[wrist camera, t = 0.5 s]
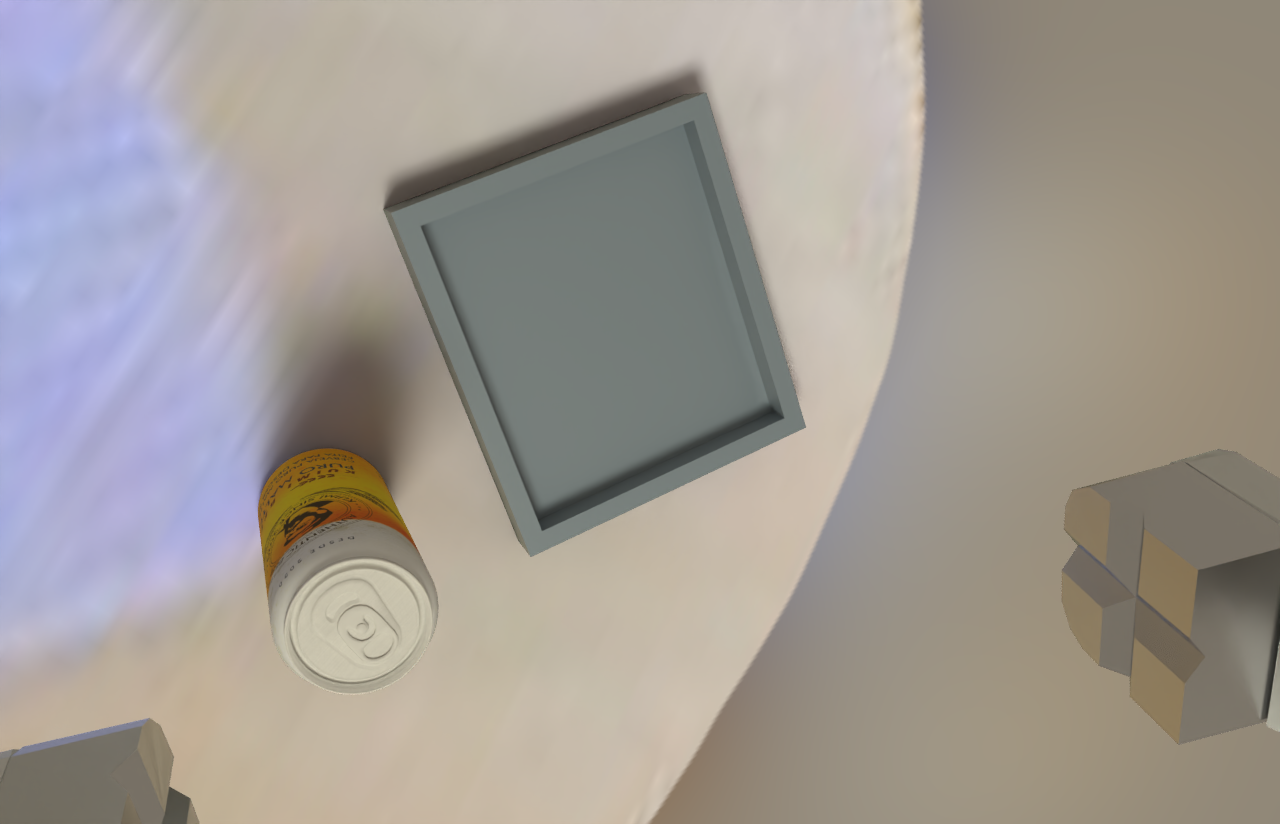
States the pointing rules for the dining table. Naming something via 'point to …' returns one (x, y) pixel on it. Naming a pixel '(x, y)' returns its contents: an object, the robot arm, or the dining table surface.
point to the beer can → (342, 574)
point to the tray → (602, 318)
